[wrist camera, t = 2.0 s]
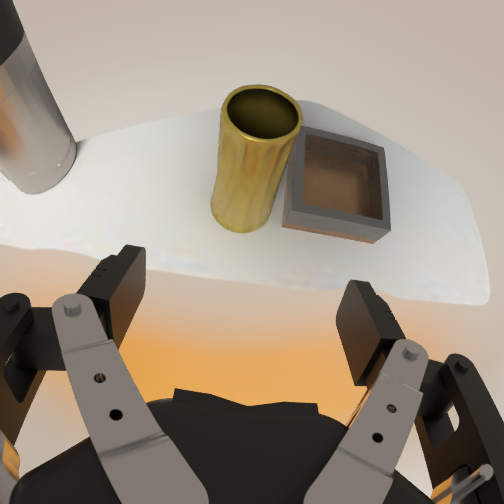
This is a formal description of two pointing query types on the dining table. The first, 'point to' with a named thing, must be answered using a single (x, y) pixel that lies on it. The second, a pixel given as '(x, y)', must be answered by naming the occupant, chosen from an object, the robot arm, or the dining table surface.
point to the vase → (252, 154)
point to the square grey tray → (337, 187)
